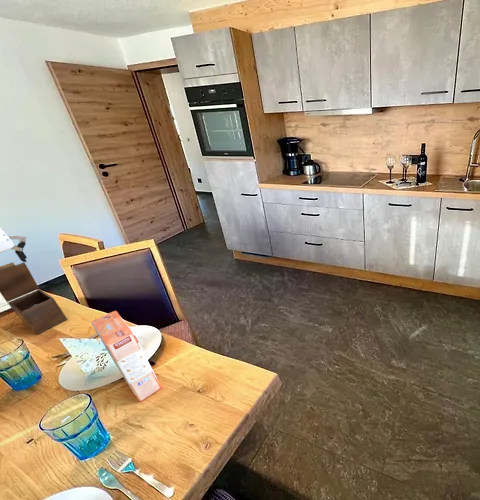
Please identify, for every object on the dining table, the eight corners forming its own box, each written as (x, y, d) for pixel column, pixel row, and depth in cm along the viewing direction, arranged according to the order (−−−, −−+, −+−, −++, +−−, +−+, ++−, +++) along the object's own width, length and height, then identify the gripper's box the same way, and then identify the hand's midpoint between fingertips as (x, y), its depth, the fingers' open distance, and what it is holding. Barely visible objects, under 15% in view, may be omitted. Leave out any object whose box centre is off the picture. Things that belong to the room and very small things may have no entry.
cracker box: (163, 387, 80) (134, 331, 70) (139, 403, 76) (104, 346, 66) (145, 362, 88) (116, 308, 78) (122, 375, 84) (88, 321, 74)
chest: (67, 319, 107) (53, 297, 102) (37, 335, 101) (20, 312, 96) (53, 310, 113) (39, 289, 108) (24, 324, 106) (7, 302, 101)
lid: (25, 263, 100) (17, 256, 101) (-11, 275, 93) (-19, 268, 94) (39, 288, 107) (32, 282, 109) (7, 302, 101) (0, 295, 102)
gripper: (5, 210, 99) (34, 254, 107) (-76, 230, 86) (-36, 278, 94) (13, 213, 95) (42, 258, 104) (-70, 235, 82) (-29, 284, 91)
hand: (5, 267), depth 99 cm, fingers open, 9 cm apart
